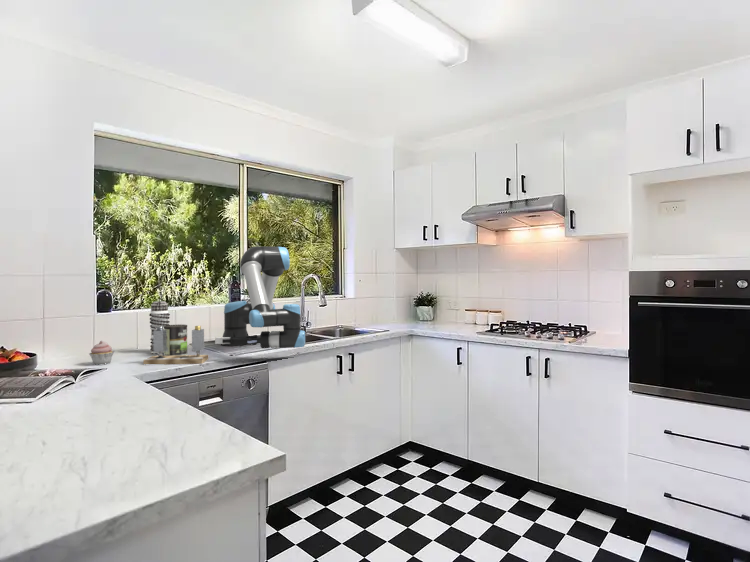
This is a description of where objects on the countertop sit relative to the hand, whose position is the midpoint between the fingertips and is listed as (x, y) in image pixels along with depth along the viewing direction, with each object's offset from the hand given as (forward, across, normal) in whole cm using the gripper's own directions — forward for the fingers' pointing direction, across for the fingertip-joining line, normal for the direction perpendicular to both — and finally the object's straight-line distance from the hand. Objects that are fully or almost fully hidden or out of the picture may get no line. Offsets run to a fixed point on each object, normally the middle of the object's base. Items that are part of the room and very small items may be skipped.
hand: (215, 340), depth 196 cm
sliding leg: (+7, 0, -7) cm, 10 cm away
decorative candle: (+34, +27, -9) cm, 44 cm away
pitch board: (+17, 0, -9) cm, 19 cm away
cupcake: (+48, 0, -9) cm, 48 cm away
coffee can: (+23, +18, -9) cm, 30 cm away
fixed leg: (+23, 0, -7) cm, 25 cm away
